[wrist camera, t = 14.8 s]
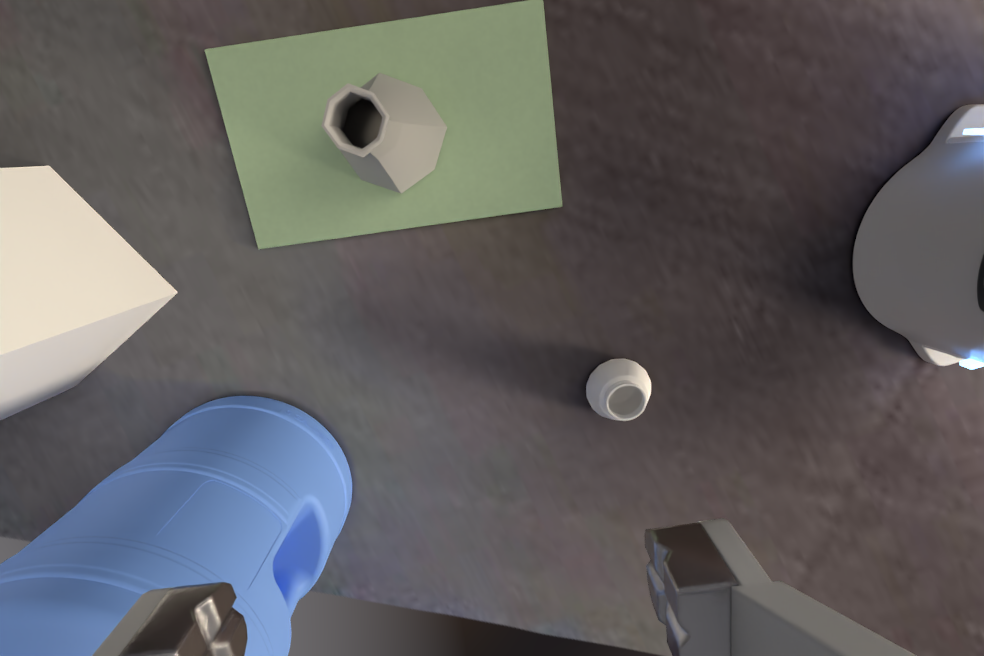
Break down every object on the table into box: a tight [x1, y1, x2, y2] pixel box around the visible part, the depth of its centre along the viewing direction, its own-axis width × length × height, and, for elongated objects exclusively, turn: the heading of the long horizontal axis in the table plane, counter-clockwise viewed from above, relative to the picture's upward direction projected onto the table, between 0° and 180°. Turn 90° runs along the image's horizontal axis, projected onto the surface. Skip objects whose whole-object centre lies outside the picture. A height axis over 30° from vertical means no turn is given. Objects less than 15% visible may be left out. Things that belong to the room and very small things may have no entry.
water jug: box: [0, 396, 352, 656], centre depth 29 cm, size 16×16×28 cm
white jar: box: [586, 358, 651, 421], centre depth 39 cm, size 5×3×5 cm
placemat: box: [205, 0, 562, 249], centre depth 34 cm, size 22×13×1 cm, turn 98°
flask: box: [321, 73, 447, 194], centre depth 30 cm, size 7×7×10 cm
